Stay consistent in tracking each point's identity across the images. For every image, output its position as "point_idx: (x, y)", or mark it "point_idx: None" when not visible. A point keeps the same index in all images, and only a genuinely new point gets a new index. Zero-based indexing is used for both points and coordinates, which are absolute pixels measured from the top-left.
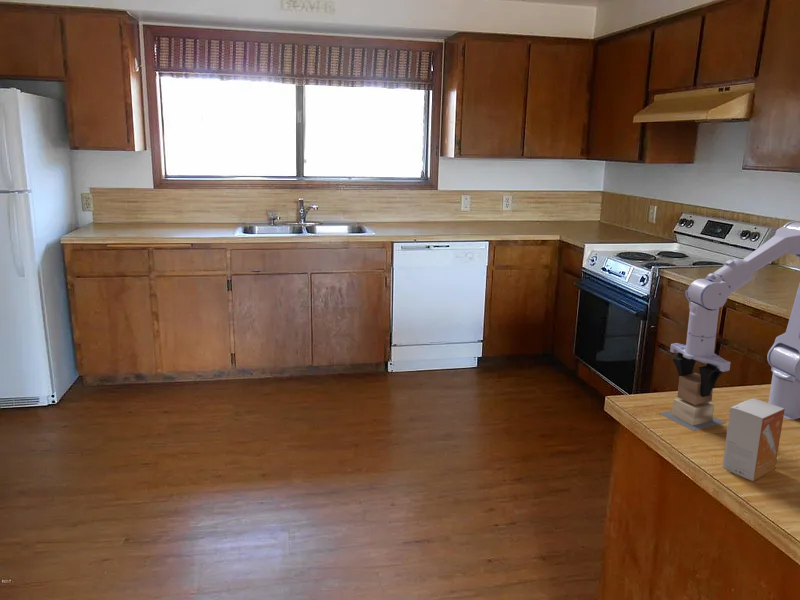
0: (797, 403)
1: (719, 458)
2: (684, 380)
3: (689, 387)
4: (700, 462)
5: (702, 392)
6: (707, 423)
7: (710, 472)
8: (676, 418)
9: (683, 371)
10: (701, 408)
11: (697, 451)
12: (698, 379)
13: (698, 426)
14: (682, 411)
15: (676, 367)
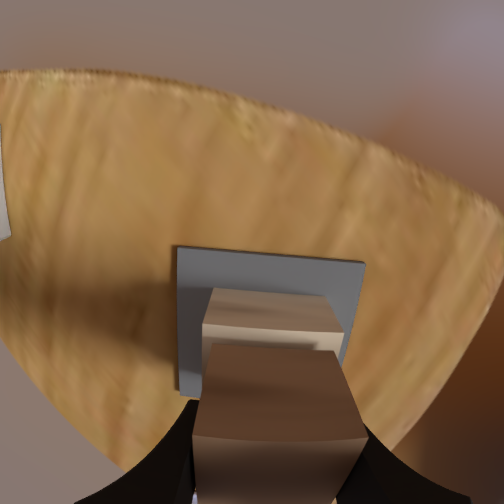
0: None
1: (27, 163)
2: (317, 430)
3: (262, 404)
4: (39, 89)
5: (186, 413)
6: (201, 346)
7: (7, 79)
8: (293, 285)
9: (367, 483)
10: (202, 359)
11: (77, 132)
12: (251, 482)
13: (197, 298)
14: (276, 310)
15: (421, 476)
